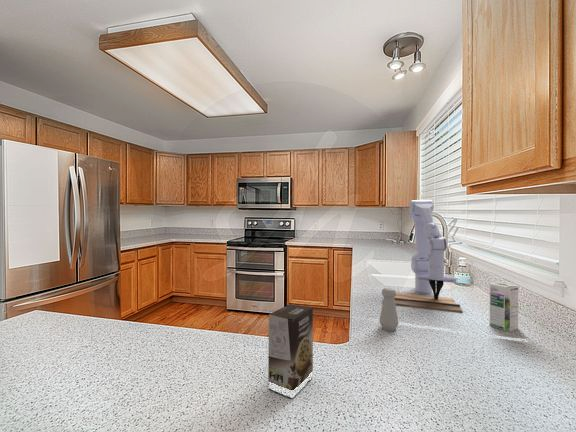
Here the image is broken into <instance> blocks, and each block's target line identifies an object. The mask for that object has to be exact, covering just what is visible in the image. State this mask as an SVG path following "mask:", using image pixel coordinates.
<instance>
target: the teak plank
mask: <svg viewBox="0 0 576 432" xmlns="http://www.w3.org/2000/svg"><path fill="white" fill-rule="evenodd" d="M394 298H403V299H412V300H422V301H431V302H441V303H450V304H457V302H456V301H455V299H454V298H453V297H446V296H444V297H443V296H438V299H434V295H426V294H425V295H424V294H417V293H415V294H414V293H406V292H405V293H403V292H396V296H395V297H394Z"/></svg>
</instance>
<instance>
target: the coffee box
mask: <svg viewBox="0 0 576 432" xmlns="http://www.w3.org/2000/svg"><path fill="white" fill-rule="evenodd" d="M313 312H314V308H313V307H311V306H305V305H299V304H293V303H289V304H287V305H285V306H283V307H281V308H278V309H276V310H275V311H273V312H271V313H268V350H267V351H268V352H267V353H268V365H267V374H268V375H267V377H268V379H267V381H269V382H271V383H274V384H276V385H278V386H281V387H284V388H287V389H289V390H294V389H295V388H296V387H298V386H299V385H300V384H301V383H302V382H303V381H304V380H305V379H306V378H307V377H308V376H309V374H310V373H311V372H312V371H313V372H314V368H313V367H314V363H313V362H314V360H313V359H314V356H313V355H314V345H313V343H314V342H313V341H314V339H313V337H314V334H313V333H314V329H313V328H314V313H313Z"/></svg>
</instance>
